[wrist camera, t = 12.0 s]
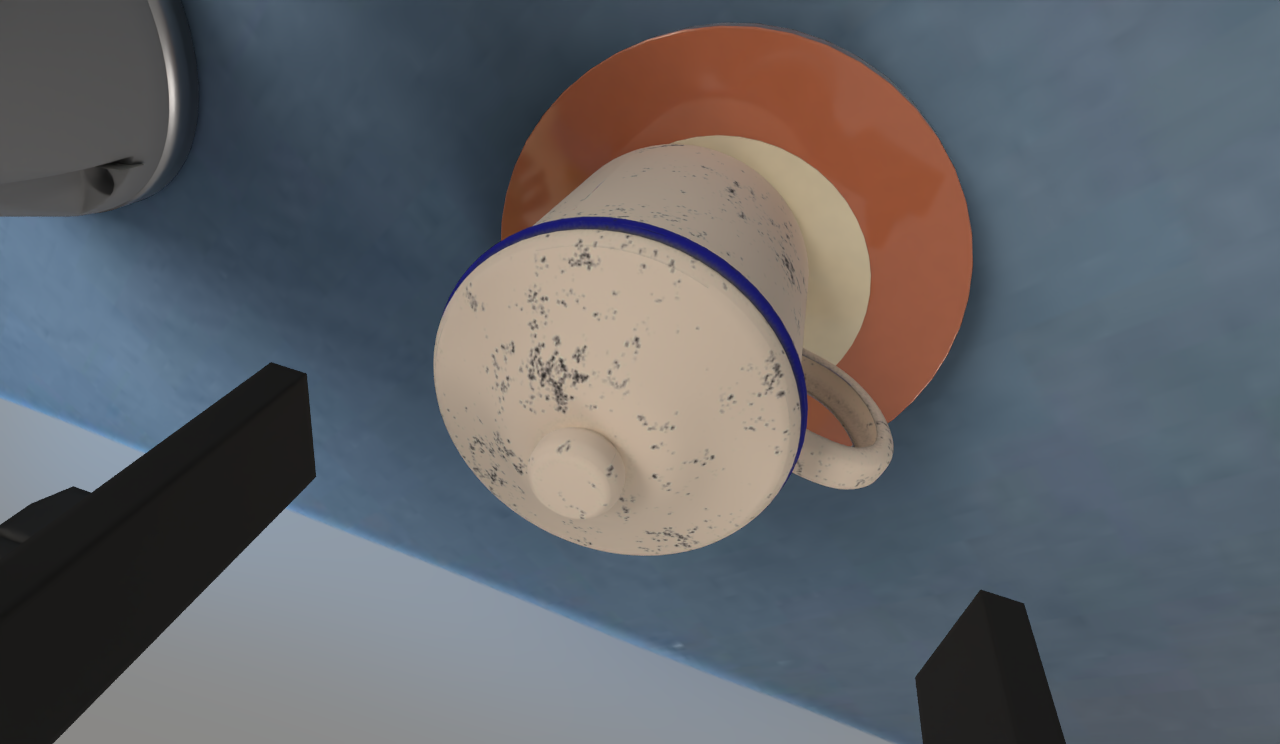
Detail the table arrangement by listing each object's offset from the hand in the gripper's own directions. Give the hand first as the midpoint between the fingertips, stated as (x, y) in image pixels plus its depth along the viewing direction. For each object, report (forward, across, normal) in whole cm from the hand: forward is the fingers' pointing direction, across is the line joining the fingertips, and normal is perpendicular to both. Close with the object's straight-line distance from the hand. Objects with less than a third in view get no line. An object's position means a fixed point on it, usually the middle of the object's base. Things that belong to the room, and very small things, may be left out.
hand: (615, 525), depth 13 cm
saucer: (+14, 0, 0) cm, 14 cm away
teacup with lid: (+12, 0, 0) cm, 12 cm away
